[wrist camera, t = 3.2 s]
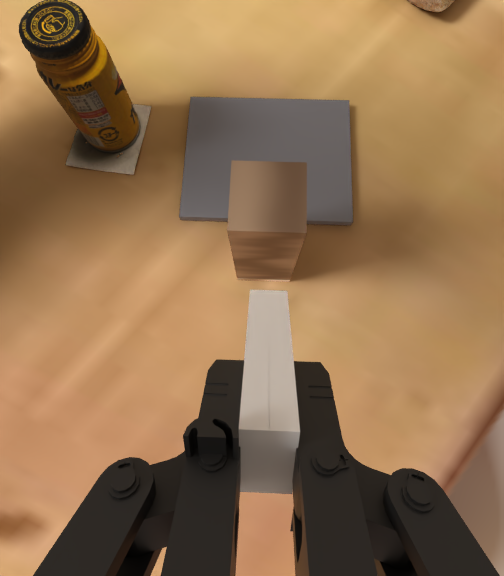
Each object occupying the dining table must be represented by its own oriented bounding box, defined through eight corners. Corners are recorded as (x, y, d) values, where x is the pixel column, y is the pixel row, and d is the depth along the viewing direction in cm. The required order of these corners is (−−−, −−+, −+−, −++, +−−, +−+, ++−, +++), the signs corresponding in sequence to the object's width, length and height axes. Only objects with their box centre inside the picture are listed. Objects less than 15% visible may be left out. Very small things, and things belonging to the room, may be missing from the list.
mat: (180, 220, 35) (179, 216, 35) (192, 102, 39) (190, 96, 38) (350, 225, 35) (352, 221, 34) (347, 105, 38) (349, 100, 38)
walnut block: (237, 279, 34) (227, 230, 22) (240, 231, 35) (231, 160, 23) (289, 281, 34) (306, 233, 22) (290, 232, 35) (306, 162, 23)
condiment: (151, 107, 39) (106, -8, 27) (134, 175, 37) (76, 83, 25) (87, 99, 39) (15, -17, 27) (67, 166, 37) (-21, 72, 25)
